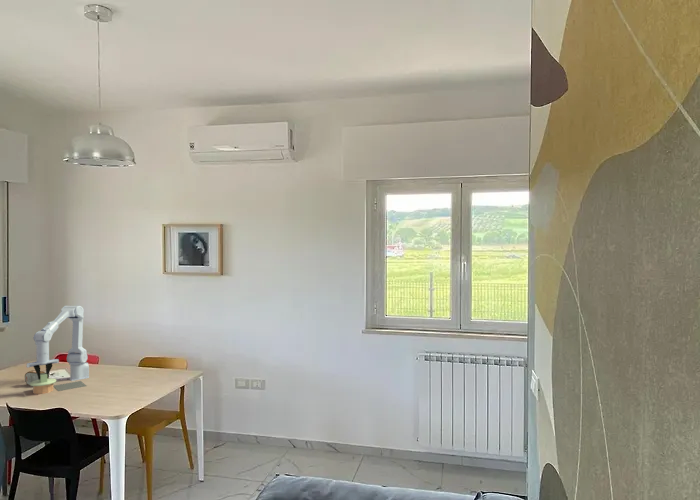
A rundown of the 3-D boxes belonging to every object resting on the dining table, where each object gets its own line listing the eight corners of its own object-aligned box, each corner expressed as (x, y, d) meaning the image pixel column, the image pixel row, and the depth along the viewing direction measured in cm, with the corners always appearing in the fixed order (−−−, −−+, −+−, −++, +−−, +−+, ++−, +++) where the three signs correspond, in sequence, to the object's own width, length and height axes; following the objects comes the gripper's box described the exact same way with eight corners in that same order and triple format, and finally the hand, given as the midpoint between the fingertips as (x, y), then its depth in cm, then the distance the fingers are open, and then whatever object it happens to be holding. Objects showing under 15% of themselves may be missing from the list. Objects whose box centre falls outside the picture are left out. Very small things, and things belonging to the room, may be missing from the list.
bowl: (51, 388, 264) (51, 379, 264) (54, 392, 258) (54, 383, 258) (32, 392, 258) (31, 382, 258) (34, 395, 252) (34, 386, 252)
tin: (49, 386, 270) (49, 371, 270) (44, 387, 267) (44, 372, 267) (28, 384, 274) (28, 369, 274) (23, 385, 271) (23, 371, 271)
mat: (80, 381, 278) (80, 380, 278) (86, 386, 268) (86, 385, 268) (52, 386, 269) (52, 385, 269) (58, 391, 258) (58, 391, 258)
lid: (53, 378, 266) (53, 370, 266) (58, 383, 257) (58, 374, 257) (28, 382, 258) (28, 374, 258) (31, 387, 249) (31, 378, 249)
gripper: (27, 356, 250) (28, 382, 250) (59, 352, 260) (60, 377, 260) (25, 354, 255) (26, 379, 255) (57, 350, 265) (57, 374, 265)
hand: (43, 378), depth 258 cm, fingers closed on lid, 3 cm apart
